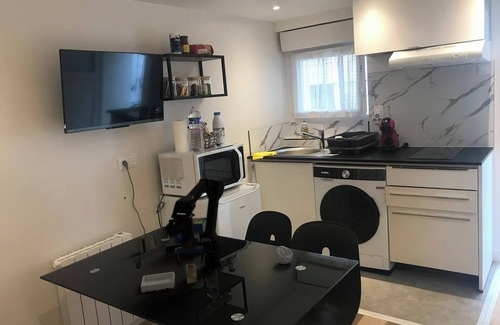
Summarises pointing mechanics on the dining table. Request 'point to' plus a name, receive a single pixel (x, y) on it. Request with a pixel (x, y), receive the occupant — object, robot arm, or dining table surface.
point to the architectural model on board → (147, 242)
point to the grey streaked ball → (283, 255)
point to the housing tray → (158, 281)
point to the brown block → (191, 273)
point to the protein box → (198, 229)
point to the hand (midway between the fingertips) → (190, 264)
